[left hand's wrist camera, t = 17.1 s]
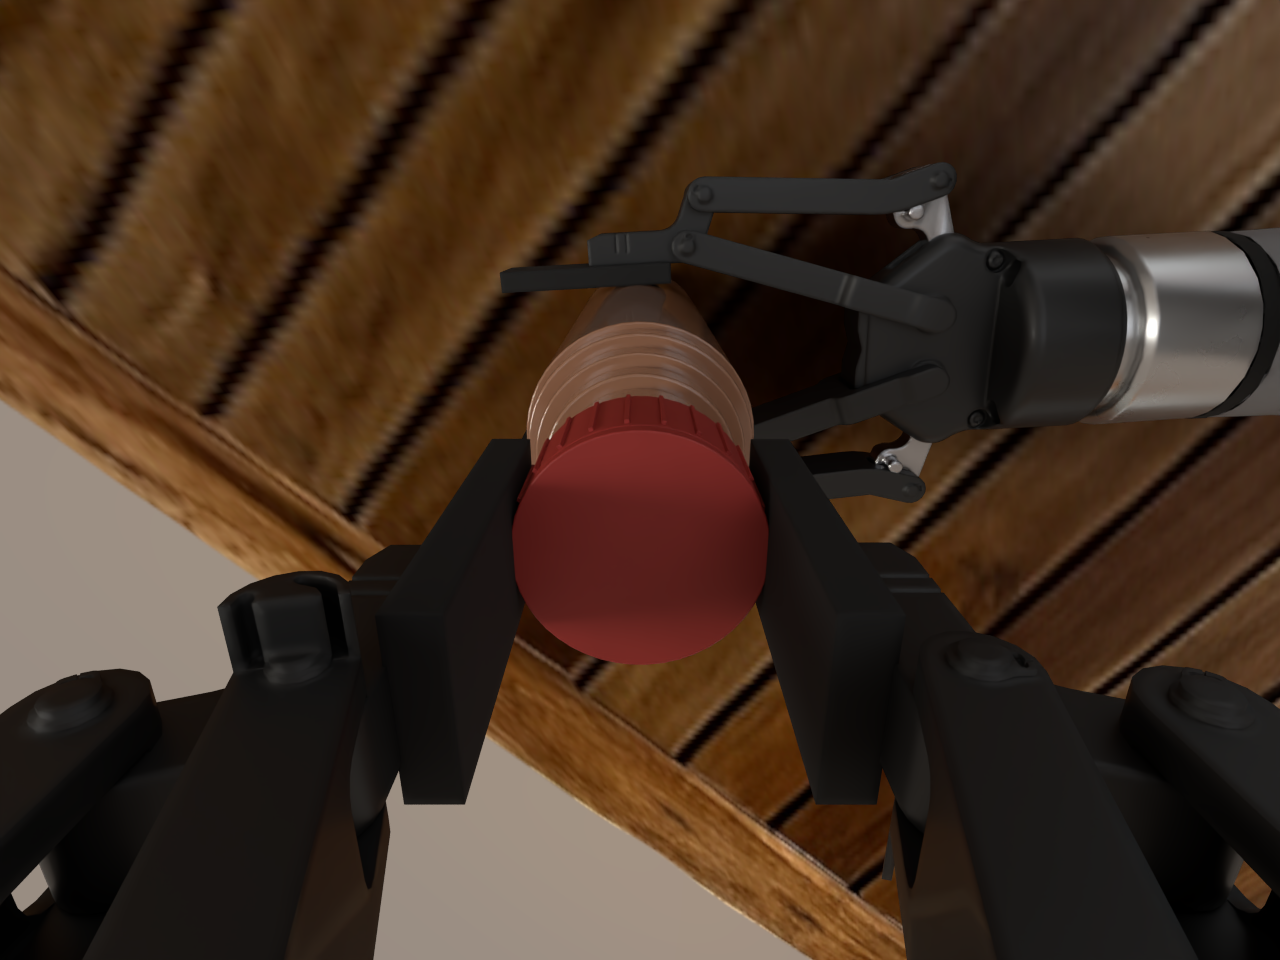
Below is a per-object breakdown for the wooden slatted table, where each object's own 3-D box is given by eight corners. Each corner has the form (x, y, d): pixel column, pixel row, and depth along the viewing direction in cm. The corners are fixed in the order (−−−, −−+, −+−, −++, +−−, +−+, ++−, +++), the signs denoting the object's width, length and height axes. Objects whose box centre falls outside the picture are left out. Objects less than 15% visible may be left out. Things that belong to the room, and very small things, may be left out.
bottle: (556, 334, 35) (402, 547, 12) (638, 243, 33) (634, 298, 11) (641, 414, 36) (644, 735, 14) (724, 330, 35) (879, 538, 12)
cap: (629, 638, 15) (628, 710, 13) (479, 492, 14) (450, 543, 12) (797, 513, 14) (827, 568, 12) (651, 342, 13) (654, 368, 11)
